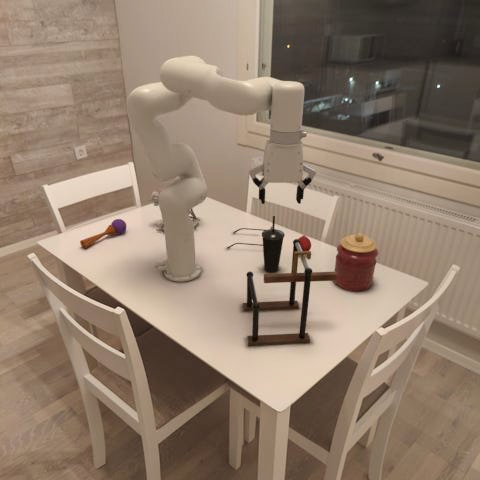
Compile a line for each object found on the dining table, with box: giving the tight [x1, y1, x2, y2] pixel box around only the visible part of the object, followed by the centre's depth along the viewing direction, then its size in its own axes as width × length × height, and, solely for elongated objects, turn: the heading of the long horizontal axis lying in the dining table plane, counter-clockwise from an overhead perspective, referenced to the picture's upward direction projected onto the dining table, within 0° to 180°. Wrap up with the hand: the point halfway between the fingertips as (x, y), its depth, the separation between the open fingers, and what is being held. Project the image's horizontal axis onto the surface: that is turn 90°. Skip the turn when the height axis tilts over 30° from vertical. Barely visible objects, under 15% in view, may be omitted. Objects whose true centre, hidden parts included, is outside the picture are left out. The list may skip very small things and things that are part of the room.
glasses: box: [226, 226, 272, 249], centre depth 172 cm, size 14×16×5 cm
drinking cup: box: [261, 215, 286, 274], centre depth 150 cm, size 8×8×20 cm
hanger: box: [263, 250, 337, 284], centre depth 120 cm, size 20×2×9 cm, turn 95°
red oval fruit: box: [297, 234, 312, 251], centre depth 163 cm, size 6×6×8 cm
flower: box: [147, 172, 204, 232], centre depth 180 cm, size 20×22×25 cm
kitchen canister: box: [333, 232, 379, 292], centre depth 144 cm, size 13×13×18 cm
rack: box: [241, 238, 313, 347], centre depth 123 cm, size 17×19×23 cm
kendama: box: [79, 218, 127, 249], centre depth 174 cm, size 6×6×20 cm
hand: (280, 201), depth 119 cm, fingers open, 9 cm apart
